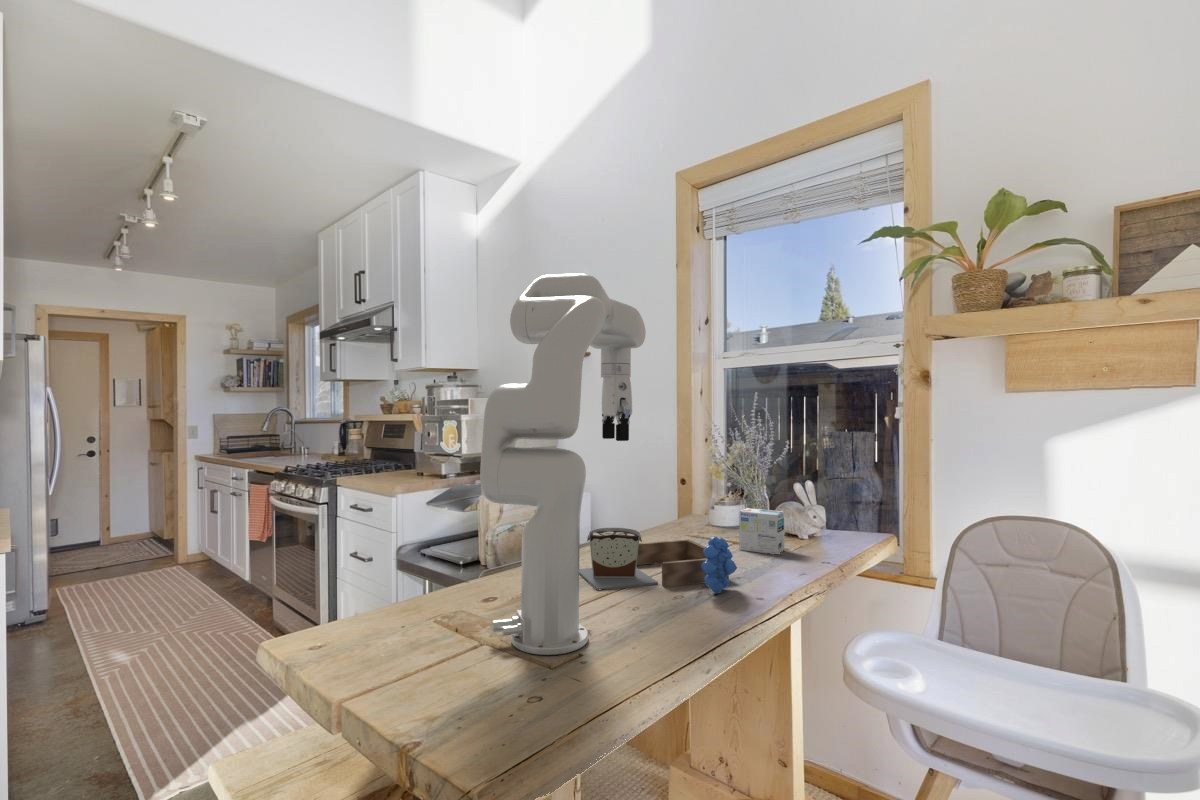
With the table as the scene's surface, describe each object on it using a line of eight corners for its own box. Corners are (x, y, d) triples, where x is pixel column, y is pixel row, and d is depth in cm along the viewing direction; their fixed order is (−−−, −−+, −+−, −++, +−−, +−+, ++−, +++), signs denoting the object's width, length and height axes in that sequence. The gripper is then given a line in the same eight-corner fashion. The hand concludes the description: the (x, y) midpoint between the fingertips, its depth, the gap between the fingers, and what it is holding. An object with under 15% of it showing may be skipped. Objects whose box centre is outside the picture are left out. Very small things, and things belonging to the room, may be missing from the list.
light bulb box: (785, 550, 160) (785, 510, 160) (778, 555, 155) (778, 514, 155) (746, 545, 166) (746, 506, 166) (738, 550, 160) (738, 510, 160)
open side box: (663, 586, 127) (664, 563, 127) (630, 564, 145) (630, 543, 145) (728, 580, 132) (728, 557, 132) (688, 559, 150) (688, 539, 150)
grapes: (725, 604, 116) (725, 543, 116) (694, 598, 120) (694, 538, 120) (747, 590, 125) (747, 533, 125) (718, 584, 129) (718, 529, 129)
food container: (639, 570, 138) (640, 527, 138) (641, 577, 132) (642, 532, 132) (586, 569, 138) (587, 526, 138) (586, 577, 132) (586, 532, 132)
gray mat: (597, 590, 124) (597, 588, 124) (576, 571, 138) (576, 569, 138) (657, 584, 129) (657, 582, 129) (631, 566, 143) (631, 564, 143)
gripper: (643, 370, 142) (642, 441, 142) (617, 373, 158) (616, 437, 158) (613, 369, 139) (613, 441, 139) (590, 373, 156) (590, 438, 156)
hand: (615, 439), depth 149 cm, fingers open, 9 cm apart
